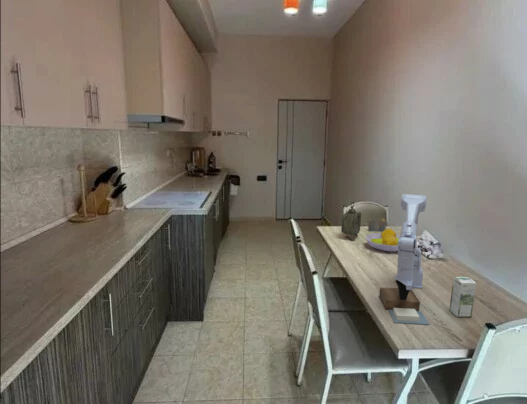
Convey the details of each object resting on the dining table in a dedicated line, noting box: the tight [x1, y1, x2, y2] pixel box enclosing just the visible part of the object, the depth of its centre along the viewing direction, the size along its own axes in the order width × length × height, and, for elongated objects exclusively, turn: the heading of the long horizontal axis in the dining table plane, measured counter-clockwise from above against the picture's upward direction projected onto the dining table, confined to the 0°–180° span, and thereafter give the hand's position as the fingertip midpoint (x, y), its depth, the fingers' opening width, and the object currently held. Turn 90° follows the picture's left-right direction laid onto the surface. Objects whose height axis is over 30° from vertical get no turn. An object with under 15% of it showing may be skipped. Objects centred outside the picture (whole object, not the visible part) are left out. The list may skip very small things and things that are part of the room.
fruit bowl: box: [365, 227, 401, 253], centre depth 213 cm, size 28×27×11 cm
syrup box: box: [449, 276, 477, 318], centre depth 136 cm, size 6×6×14 cm
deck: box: [378, 287, 421, 311], centre depth 146 cm, size 13×12×4 cm
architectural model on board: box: [367, 217, 387, 232], centre depth 252 cm, size 11×3×10 cm, turn 87°
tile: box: [393, 308, 419, 322], centre depth 134 cm, size 8×6×2 cm
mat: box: [388, 310, 430, 326], centre depth 135 cm, size 12×10×1 cm
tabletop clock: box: [340, 201, 362, 242], centre depth 233 cm, size 14×9×25 cm, turn 150°
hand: (402, 299), depth 139 cm, fingers closed
